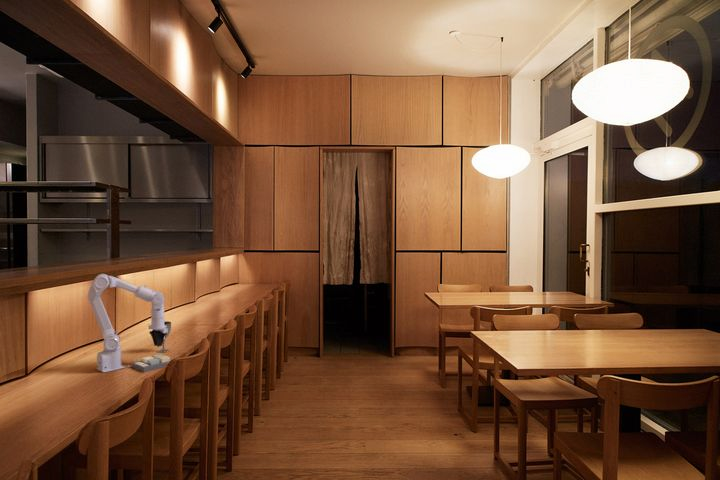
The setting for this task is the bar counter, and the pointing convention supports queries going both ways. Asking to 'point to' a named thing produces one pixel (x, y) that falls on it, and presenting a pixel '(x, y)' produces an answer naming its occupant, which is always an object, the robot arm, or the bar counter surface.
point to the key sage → (157, 356)
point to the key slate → (153, 361)
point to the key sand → (164, 359)
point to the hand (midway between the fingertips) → (158, 345)
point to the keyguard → (147, 366)
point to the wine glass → (165, 337)
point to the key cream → (146, 359)
